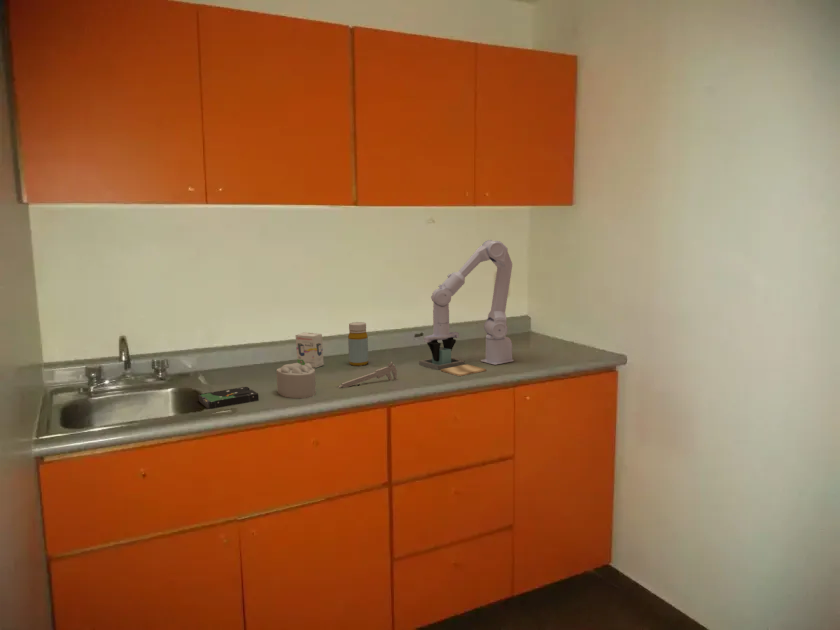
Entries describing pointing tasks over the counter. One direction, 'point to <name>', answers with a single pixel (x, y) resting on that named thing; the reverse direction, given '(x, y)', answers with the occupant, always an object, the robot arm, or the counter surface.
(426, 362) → the grey flat square frame
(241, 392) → the disk drive
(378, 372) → the caliper
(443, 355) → the block
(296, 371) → the cup of cotton balls
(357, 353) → the bottle
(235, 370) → the counter surface
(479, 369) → the board
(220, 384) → the counter surface
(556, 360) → the counter surface
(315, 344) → the ink box
